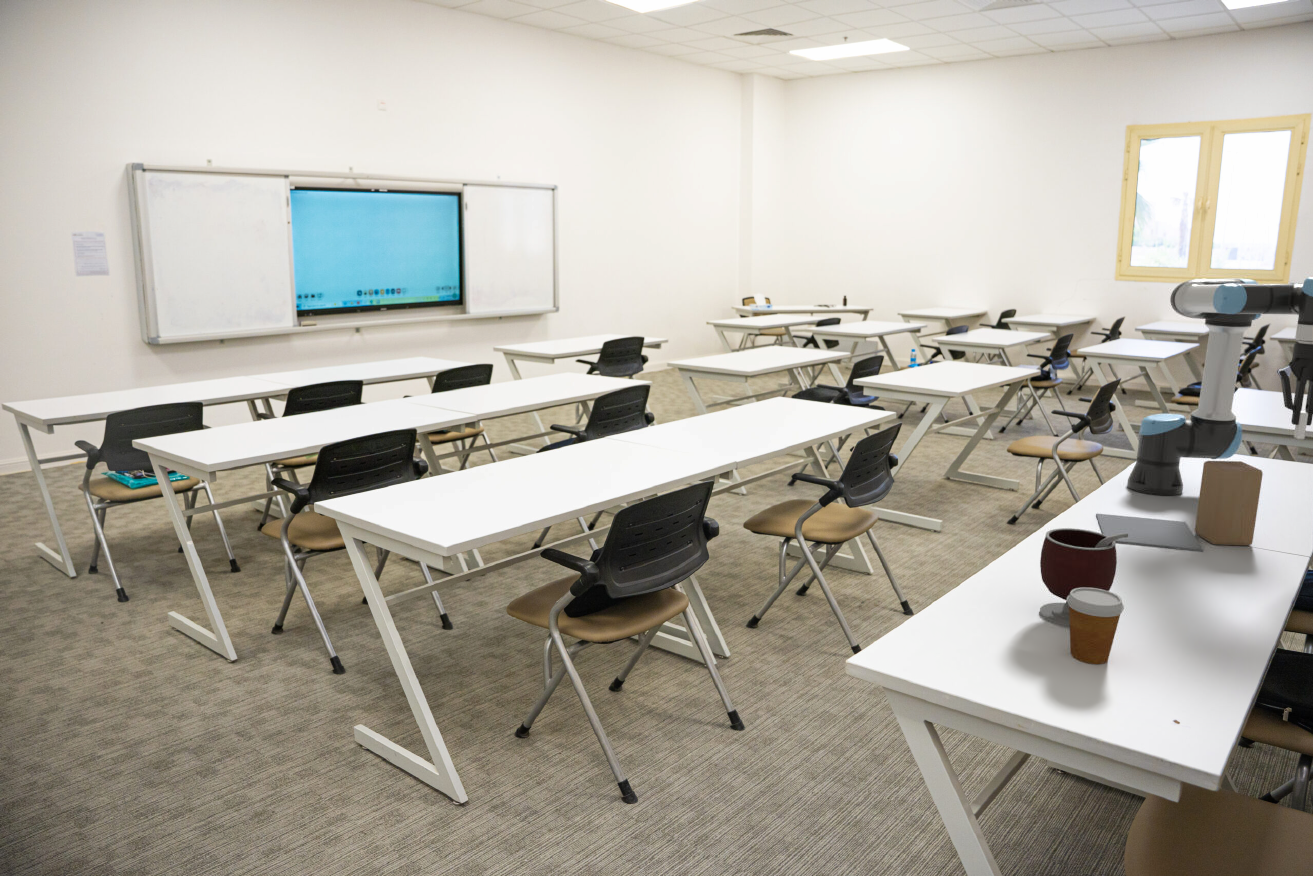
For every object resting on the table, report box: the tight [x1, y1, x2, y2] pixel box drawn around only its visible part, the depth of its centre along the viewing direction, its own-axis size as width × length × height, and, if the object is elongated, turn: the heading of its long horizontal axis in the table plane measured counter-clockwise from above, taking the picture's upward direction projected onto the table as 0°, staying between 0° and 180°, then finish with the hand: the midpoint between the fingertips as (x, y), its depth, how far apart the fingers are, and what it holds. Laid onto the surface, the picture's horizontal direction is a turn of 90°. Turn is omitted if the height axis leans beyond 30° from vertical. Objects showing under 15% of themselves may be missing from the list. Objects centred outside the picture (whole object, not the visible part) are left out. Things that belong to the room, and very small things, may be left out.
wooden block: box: [1194, 460, 1264, 546], centre depth 227 cm, size 10×10×20 cm
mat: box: [1095, 512, 1204, 552], centre depth 235 cm, size 24×22×1 cm
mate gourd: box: [1039, 527, 1128, 629], centre depth 180 cm, size 16×14×20 cm
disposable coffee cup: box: [1067, 587, 1125, 665], centre depth 164 cm, size 10×10×12 cm
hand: (1298, 437), depth 219 cm, fingers closed
